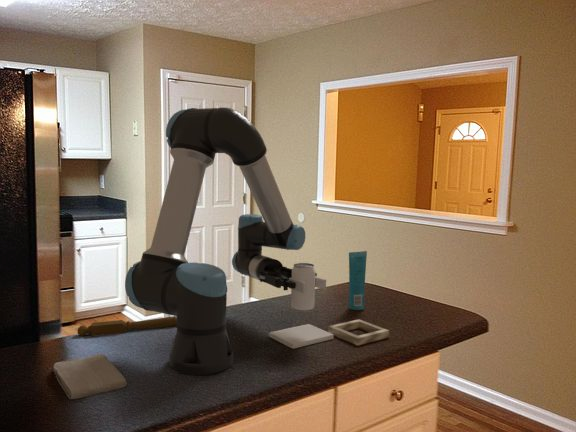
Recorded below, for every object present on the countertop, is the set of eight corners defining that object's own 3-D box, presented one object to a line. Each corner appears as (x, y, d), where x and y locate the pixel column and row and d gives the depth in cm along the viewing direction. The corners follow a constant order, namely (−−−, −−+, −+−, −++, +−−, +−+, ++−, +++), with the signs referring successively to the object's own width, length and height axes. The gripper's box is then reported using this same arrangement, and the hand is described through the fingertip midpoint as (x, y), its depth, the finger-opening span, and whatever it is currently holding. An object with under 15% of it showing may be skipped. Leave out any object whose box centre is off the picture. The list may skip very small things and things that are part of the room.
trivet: (292, 348, 135) (292, 344, 135) (269, 336, 144) (269, 332, 144) (333, 338, 143) (333, 334, 143) (308, 327, 152) (308, 323, 152)
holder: (357, 345, 139) (357, 338, 138) (328, 332, 148) (328, 326, 148) (388, 337, 146) (389, 330, 145) (358, 325, 155) (359, 319, 155)
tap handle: (188, 316, 152) (77, 327, 140) (188, 326, 152) (77, 338, 140) (185, 313, 155) (77, 324, 142) (185, 323, 155) (77, 335, 143)
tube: (358, 304, 178) (361, 249, 176) (369, 308, 174) (371, 251, 172) (342, 308, 173) (345, 251, 171) (353, 311, 169) (355, 253, 167)
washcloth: (102, 361, 125) (102, 349, 125) (129, 389, 111) (129, 375, 111) (49, 373, 118) (49, 360, 118) (70, 404, 104) (70, 389, 103)
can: (312, 312, 139) (313, 268, 138) (288, 310, 141) (289, 266, 139) (316, 305, 146) (317, 263, 144) (293, 303, 147) (294, 261, 146)
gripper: (292, 277, 163) (341, 294, 144) (239, 286, 152) (285, 305, 133) (292, 254, 162) (342, 268, 143) (239, 261, 151) (285, 277, 132)
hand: (314, 286), depth 138 cm, fingers closed on can, 6 cm apart
